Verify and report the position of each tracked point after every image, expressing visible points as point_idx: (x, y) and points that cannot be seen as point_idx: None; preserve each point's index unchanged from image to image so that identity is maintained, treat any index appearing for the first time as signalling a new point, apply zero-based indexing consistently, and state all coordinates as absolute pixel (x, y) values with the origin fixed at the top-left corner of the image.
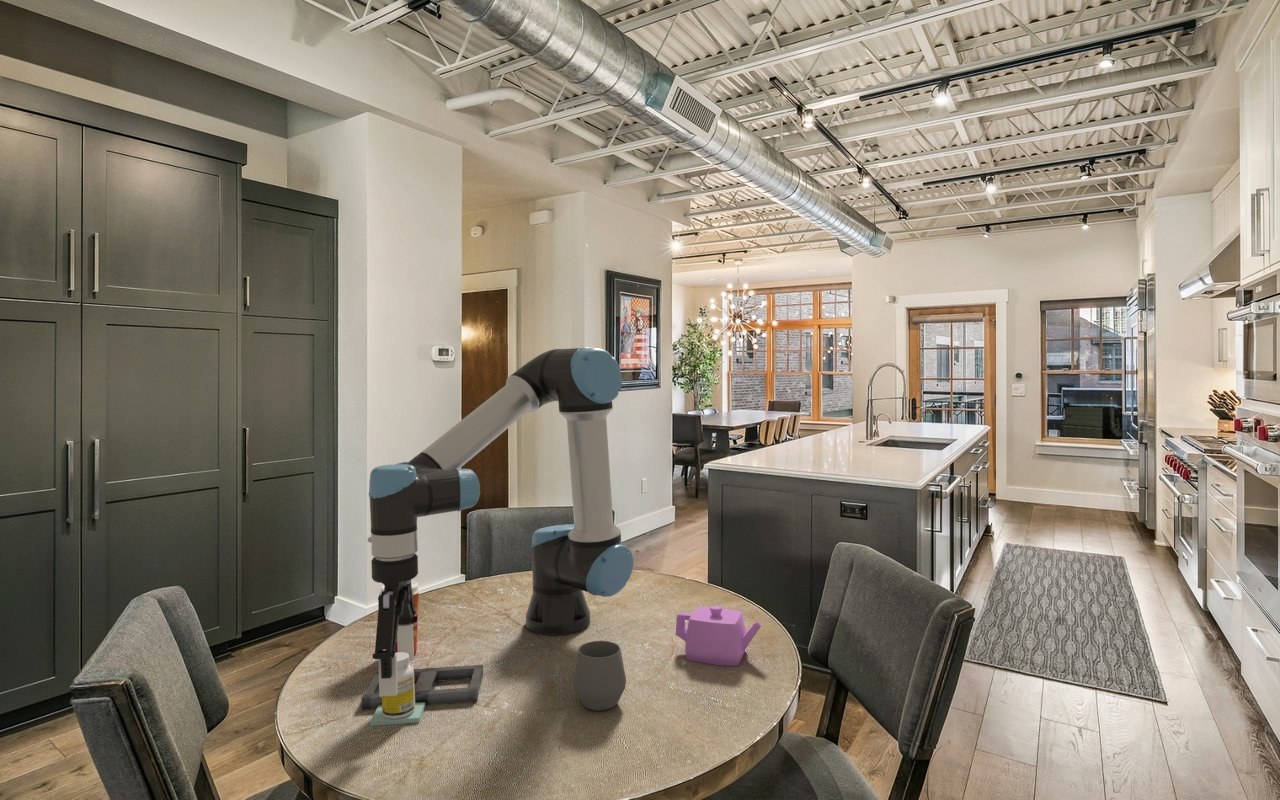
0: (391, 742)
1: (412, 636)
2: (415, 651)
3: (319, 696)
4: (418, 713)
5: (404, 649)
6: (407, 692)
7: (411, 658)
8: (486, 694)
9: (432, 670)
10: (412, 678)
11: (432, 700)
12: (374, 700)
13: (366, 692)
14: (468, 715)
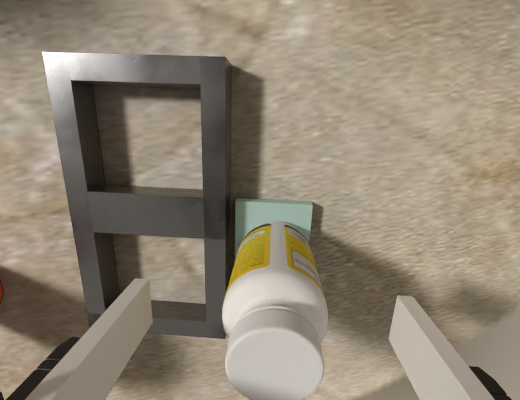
0: (383, 247)
1: (93, 349)
2: None
3: (163, 394)
4: (290, 209)
5: (130, 333)
6: (308, 259)
7: (145, 288)
8: (190, 38)
9: (84, 204)
10: (291, 264)
11: (228, 184)
12: None
13: (196, 333)
14: (303, 83)
